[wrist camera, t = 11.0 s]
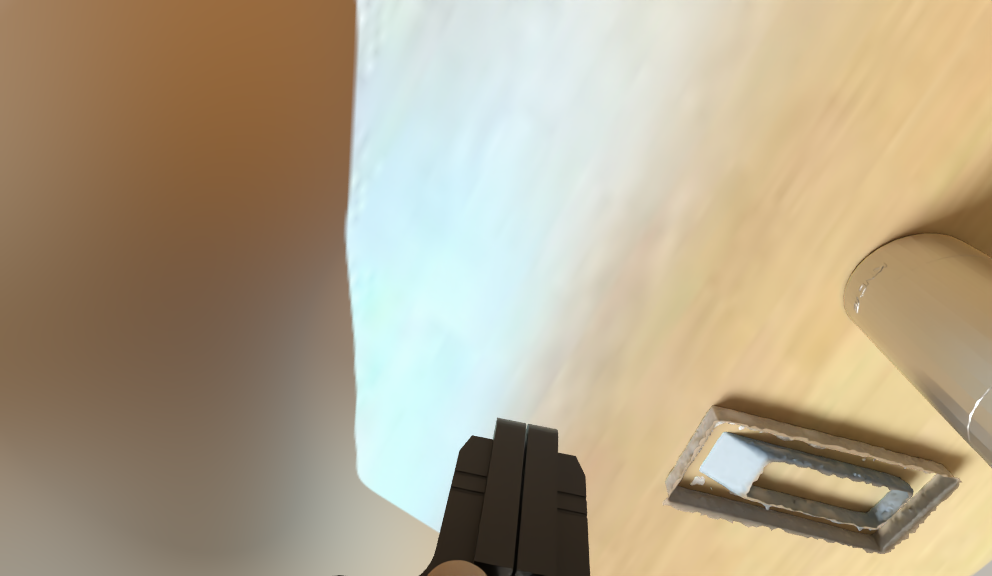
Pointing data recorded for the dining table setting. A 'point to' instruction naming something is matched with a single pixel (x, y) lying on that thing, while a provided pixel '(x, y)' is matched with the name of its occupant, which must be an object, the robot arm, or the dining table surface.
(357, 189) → the dining table surface
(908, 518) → the picture frame
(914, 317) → the robot arm
